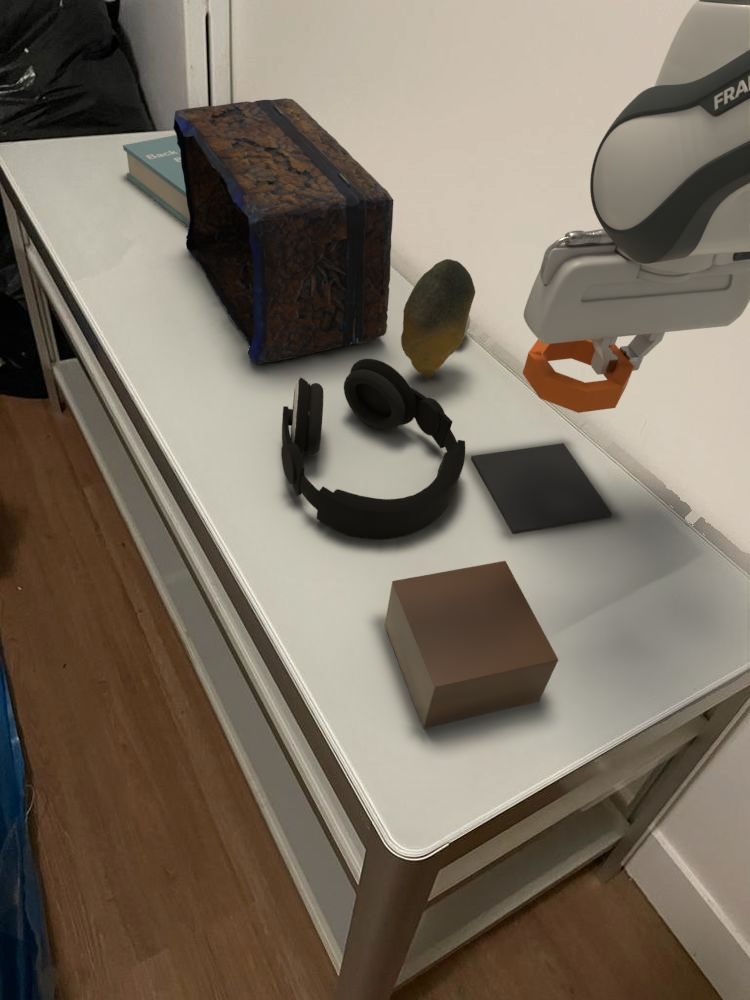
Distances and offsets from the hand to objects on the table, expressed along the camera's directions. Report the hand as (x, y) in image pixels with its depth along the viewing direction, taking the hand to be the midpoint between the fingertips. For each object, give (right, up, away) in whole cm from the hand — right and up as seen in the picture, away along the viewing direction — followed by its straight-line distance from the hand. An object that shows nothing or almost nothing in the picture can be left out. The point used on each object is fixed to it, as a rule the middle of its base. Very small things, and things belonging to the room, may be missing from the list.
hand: (613, 368), depth 72 cm
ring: (-4, -1, 0) cm, 4 cm away
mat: (-5, -11, +9) cm, 15 cm away
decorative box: (-35, +14, +30) cm, 48 cm away
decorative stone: (-16, +2, +21) cm, 26 cm away
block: (-15, -25, -7) cm, 30 cm away
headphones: (-23, -9, +9) cm, 26 cm away
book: (-47, +35, +49) cm, 76 cm away
